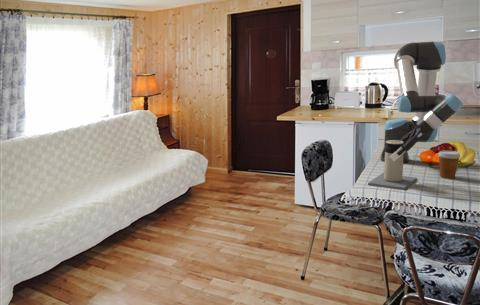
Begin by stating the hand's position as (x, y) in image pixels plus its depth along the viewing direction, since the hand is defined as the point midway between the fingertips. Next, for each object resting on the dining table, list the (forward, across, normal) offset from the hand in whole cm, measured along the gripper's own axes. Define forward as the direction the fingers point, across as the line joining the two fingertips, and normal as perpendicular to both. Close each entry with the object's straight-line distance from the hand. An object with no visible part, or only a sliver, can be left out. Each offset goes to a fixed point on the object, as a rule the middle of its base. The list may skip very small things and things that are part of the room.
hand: (391, 156), depth 191 cm
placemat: (+8, 0, -10) cm, 12 cm away
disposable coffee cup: (-10, +14, -28) cm, 33 cm away
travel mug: (+7, 0, -9) cm, 12 cm away
